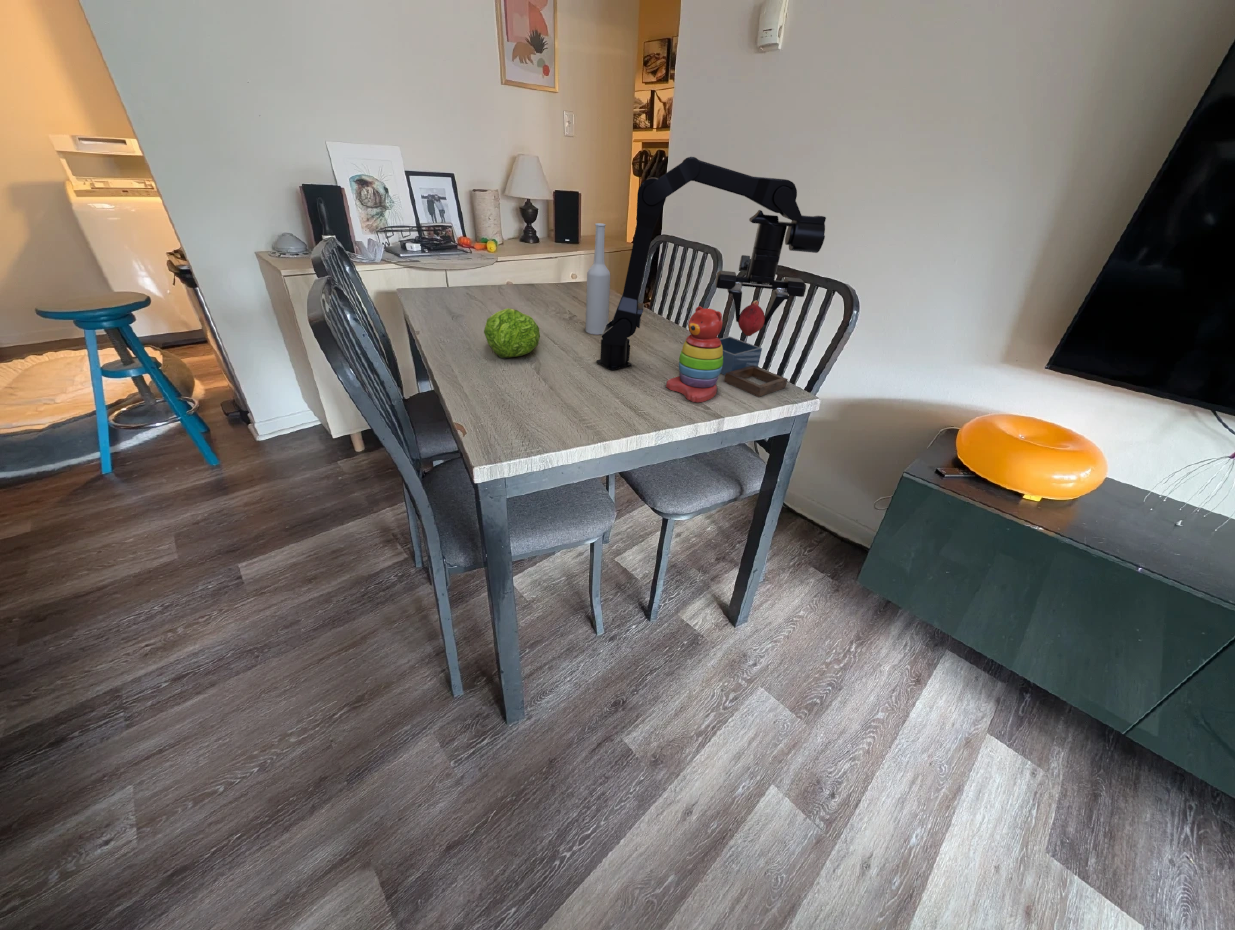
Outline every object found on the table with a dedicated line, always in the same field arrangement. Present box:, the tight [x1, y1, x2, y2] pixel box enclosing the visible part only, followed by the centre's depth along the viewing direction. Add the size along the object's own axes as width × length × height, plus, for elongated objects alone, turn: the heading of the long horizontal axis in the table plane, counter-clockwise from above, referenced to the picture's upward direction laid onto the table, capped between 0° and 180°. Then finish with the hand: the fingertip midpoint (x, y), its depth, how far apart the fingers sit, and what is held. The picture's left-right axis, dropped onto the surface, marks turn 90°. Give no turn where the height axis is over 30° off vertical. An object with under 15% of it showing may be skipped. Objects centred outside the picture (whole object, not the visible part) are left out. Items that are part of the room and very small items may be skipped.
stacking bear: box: [665, 305, 723, 403], centre depth 100 cm, size 11×10×18 cm
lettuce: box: [483, 307, 541, 359], centre depth 119 cm, size 12×24×13 cm
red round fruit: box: [737, 300, 766, 337], centre depth 107 cm, size 6×6×8 cm
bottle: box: [585, 222, 611, 336], centre depth 130 cm, size 7×7×28 cm
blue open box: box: [719, 336, 763, 376], centre depth 117 cm, size 10×10×6 cm
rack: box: [723, 365, 789, 398], centre depth 109 cm, size 10×10×2 cm
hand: (750, 322), depth 107 cm, fingers closed on red round fruit, 6 cm apart
